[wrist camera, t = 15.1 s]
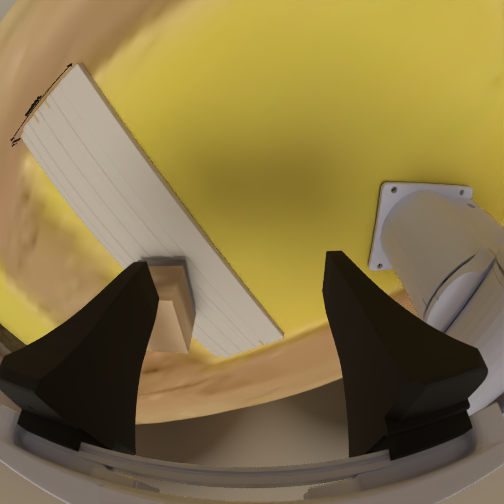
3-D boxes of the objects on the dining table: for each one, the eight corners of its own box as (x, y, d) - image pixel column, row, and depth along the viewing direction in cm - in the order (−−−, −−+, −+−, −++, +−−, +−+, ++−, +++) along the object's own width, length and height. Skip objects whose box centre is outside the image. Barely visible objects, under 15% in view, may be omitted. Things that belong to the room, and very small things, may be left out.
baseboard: (206, 353, 32) (283, 326, 29) (204, 373, 30) (285, 348, 27) (19, 143, 17) (87, 62, 14) (-1, 154, 15) (66, 62, 12)
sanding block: (185, 259, 22) (172, 300, 18) (196, 313, 25) (188, 353, 21) (138, 259, 22) (118, 298, 18) (155, 311, 25) (142, 349, 22)
